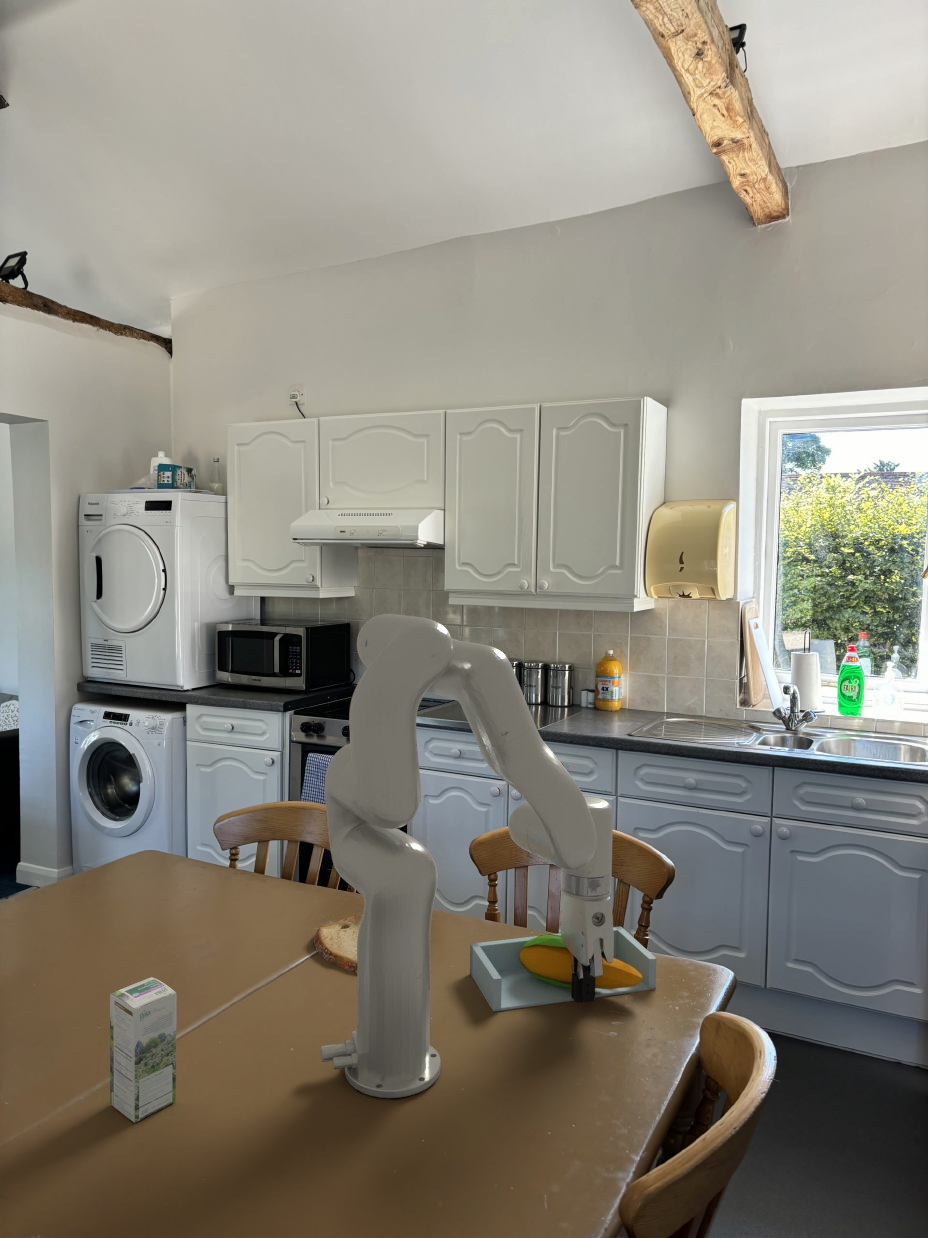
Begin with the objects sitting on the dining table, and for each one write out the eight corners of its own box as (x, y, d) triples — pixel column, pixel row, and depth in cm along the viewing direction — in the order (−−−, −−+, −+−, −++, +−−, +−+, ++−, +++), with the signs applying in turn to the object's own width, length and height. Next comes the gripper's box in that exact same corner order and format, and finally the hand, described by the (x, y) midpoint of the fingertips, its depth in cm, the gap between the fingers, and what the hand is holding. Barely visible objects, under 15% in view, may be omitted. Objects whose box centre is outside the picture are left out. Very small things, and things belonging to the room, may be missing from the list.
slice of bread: (406, 979, 140) (406, 957, 140) (296, 974, 141) (296, 951, 141) (419, 932, 158) (419, 912, 157) (322, 927, 159) (322, 908, 159)
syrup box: (152, 1084, 110) (150, 974, 109) (178, 1103, 107) (177, 989, 106) (109, 1105, 106) (107, 991, 105) (135, 1126, 102) (133, 1007, 101)
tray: (493, 1011, 129) (494, 979, 129) (469, 973, 141) (470, 944, 141) (655, 989, 137) (656, 958, 136) (620, 954, 149) (620, 926, 148)
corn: (528, 919, 143) (648, 941, 135) (528, 962, 144) (648, 987, 136) (512, 939, 136) (638, 964, 128) (512, 985, 137) (638, 1012, 129)
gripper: (631, 897, 123) (628, 1022, 124) (588, 862, 138) (585, 974, 139) (582, 902, 121) (579, 1029, 122) (544, 866, 136) (542, 979, 137)
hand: (583, 999), depth 131 cm, fingers closed
